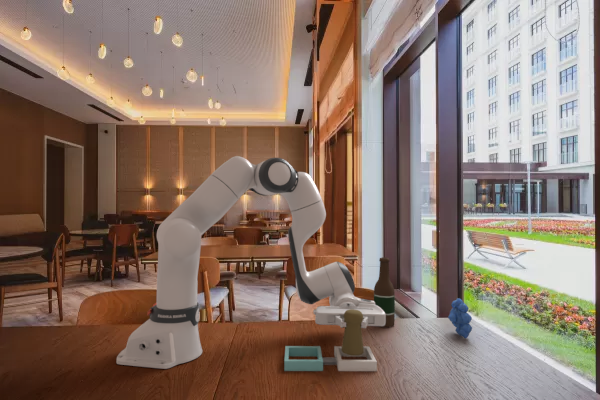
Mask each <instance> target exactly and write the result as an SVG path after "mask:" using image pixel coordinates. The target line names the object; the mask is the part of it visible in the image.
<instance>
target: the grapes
mask: <svg viewBox="0 0 600 400" xmlns="http://www.w3.org/2000/svg"><path fill="white" fill-rule="evenodd" d="M450 305H451V307H452V308H451V310H450V311H449V315H448V316H447V317H448V320H449V321H450V322H451V324H452V325H453V326H454V327H455V332H456V334H457V335H458V336H460V337H463V338H464V339H467V338H468V337H469V336H470V333H471V332H472V330H473V327H472V325H471V324H470V323H471V322H472V319H473V318H472V316H471V315H470V314H469V313H468V312H469V309H470V308H469V307H468V305H467V304H466V303H465V302H464V301H463V300H462V299H461V298H460V297H459V298H458V297H457V298H456V300H455V299H453V301H452V302H451V304H450Z"/></svg>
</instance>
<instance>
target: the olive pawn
mask: <svg viewBox="0 0 600 400" xmlns="http://www.w3.org/2000/svg"><path fill="white" fill-rule="evenodd" d="M344 320H345V321H346V328H344V332H343V337H342V344H341V346H342V352H343V353H345V354H348V355H361V354H363V353H364V349H363V346H364V341H363V340H364V339H363V332H362V328H361V322H362V321H363V314H362V312H360V311H359V310H354V309H350V310H347V311H346V312H345V313H344Z"/></svg>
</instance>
